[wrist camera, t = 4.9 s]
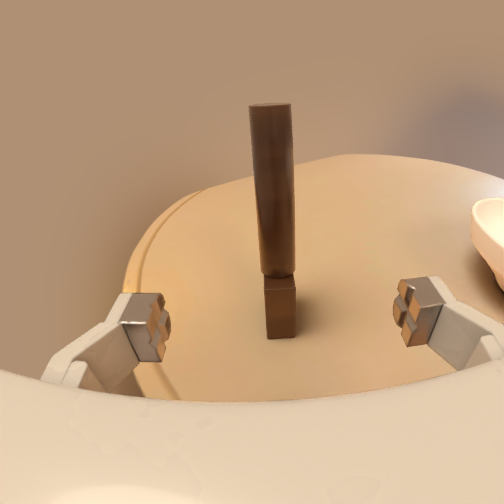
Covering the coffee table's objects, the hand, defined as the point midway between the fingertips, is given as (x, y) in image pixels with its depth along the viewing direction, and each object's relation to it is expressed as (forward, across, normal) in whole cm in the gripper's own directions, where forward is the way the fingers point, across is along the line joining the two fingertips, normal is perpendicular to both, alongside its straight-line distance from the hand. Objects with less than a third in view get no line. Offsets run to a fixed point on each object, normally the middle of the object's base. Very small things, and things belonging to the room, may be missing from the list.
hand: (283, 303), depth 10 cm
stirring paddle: (+12, 0, -11) cm, 16 cm away
